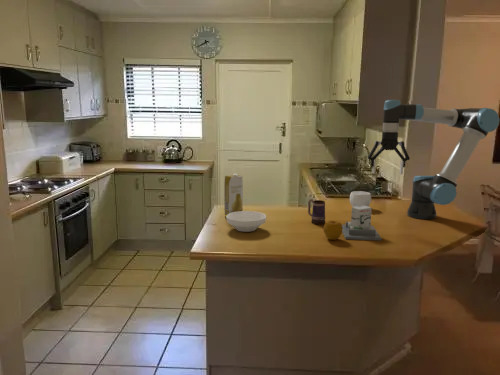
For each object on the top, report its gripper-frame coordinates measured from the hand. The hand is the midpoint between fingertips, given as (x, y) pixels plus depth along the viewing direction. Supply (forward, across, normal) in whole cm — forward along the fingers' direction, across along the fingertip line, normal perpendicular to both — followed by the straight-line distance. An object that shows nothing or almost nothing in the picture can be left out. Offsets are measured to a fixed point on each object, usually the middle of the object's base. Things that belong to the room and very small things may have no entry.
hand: (387, 173), depth 204 cm
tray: (+27, +15, +18) cm, 36 cm away
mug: (+27, +35, +1) cm, 44 cm away
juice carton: (+27, +80, -6) cm, 85 cm away
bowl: (+27, +70, +19) cm, 77 cm away
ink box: (+26, +15, +18) cm, 35 cm away
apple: (+27, +29, +29) cm, 49 cm away
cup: (+27, +7, -33) cm, 43 cm away
